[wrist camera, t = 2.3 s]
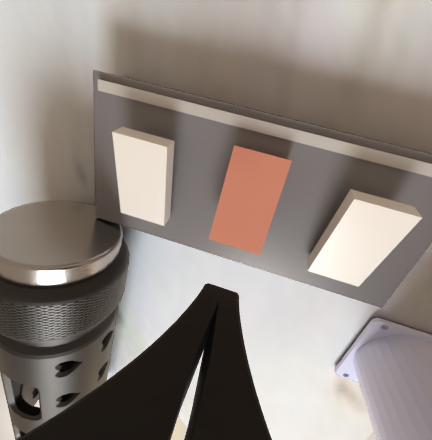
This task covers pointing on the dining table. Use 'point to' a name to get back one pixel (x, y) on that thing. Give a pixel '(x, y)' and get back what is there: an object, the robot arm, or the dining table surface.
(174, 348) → the robot arm
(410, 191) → the switch box
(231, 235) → the rocker middle
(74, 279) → the muzzle brake
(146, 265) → the dining table surface
